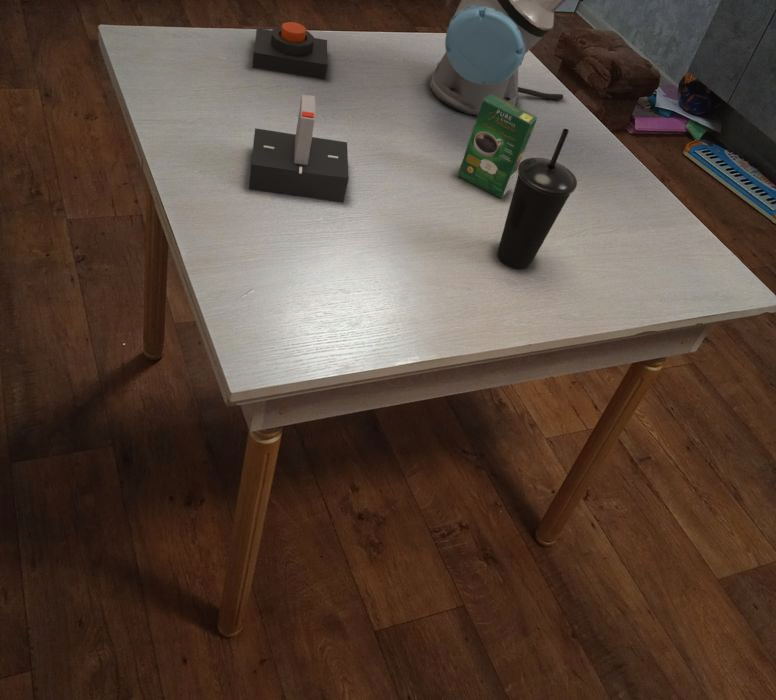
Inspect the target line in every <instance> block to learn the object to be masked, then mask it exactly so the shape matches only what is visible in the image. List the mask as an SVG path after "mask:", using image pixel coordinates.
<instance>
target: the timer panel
mask: <svg viewBox="0 0 776 700" xmlns="http://www.w3.org/2000/svg"><path fill="white" fill-rule="evenodd" d="M253 135H254V137H253V145H252V154H251V161H250V162H251V163H250V172H249V182H248V190H252V191H260V192H267V193H273V194H274V193H275V194H282V195H288V196H295V197H301V198H302V197H303V198H310V199H318V200H325V201H331V202H341V203H344V202H345V199H346V198H345V197H346V192H347V188H348V183H349V178H350V177H349V155H348V154H349V153H348V151H349V150H348V142H347V141H341V140H335V139H329V138H322V137H321V138H320V137H314V136H312V140H311V146H310V152H309V158H308V165H302V164H295V163H294V154H295V137H296V133H288V132H282V131H276V130H269V129H263V128H256V127H255V128H254V134H253Z"/></svg>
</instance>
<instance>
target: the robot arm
mask: <svg viewBox="0 0 776 700" xmlns="http://www.w3.org/2000/svg"><path fill="white" fill-rule="evenodd" d="M565 2H566V0H460V1H459V3H458V6H457V9H456V10H455V12H454V15H452V17H451V19H450V21H449V23H448V24H447V27H446V32H445V40H444V41H445V43H444V46H445V53H444V54H443V56H442V58H441V59H440V60H439V61H438V62H437V64H436V66H435V68H434V70H433V72H432V76H431V79H430V89H431V91H432V93H433V94H434V95H435V96H436V97H437V98H438V100H440V101H441V102H442V103H444V104H445V105H447V106H449V107H451V108H452V109H455V110H457V111H459V112H462V113H465V114H468V115H473V116H478V114H479V111H480V108H481V105H482V102H483V100H484V99H485V98H486V97H487V96H489V95H490V94H492V95H494V96H496V97H498V98H500V99H502V100H504V101H506V102H507V103H509V104H511V105H513V106H515V107H516V103H517V100H518V98H519V97H518V95H519V93H520V94H525V95H528V96H533V97H537V98H541V99H548V100H563V99H564V94H562V93H546V92H541V91H538V90H534V89H530V88H526V87H525V88H524V87H520V86H519V68H520V67H521V66H522V63H523V61H524V59H525V55H526V54H527V53H528V52H529V51H530V50H531V49H532V48H533V47H534V46H535V45H537V43H539V41H540V40H541V39H543V38H544V36H545V35H546V34H548V33H549V31H551V30H552V29H553V27H554V24H555V12H556V11H557V9H558V8H559V7H561V5H562V4H563V3H565Z"/></svg>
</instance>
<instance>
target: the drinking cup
mask: <svg viewBox="0 0 776 700" xmlns="http://www.w3.org/2000/svg"><path fill="white" fill-rule="evenodd" d="M569 133H570V130H569V128H568V129H567V128H563V130H562V132H561V135H560V136H559V139H558V142H557V144H556V147H555V149H554V152H553V154H552V157H551V159H548V158H546V157H545V158H544V157H537V156H535V157H527V158H525V159H523V160H522V161H520V163H519V165H518V168H517V178H516V181H515V185H514V189H513V193H512V197H511V201H510V204H509V208H508V211H507V215H506V219H505V223H504V226H503V230H502V234H501V238H500V241H499V245H498V248H497V252H496V256H497V258H498V260H499V261H500V262H501V263H502V264H503V265H505V266H506V267H508V268H510V269H514V270H526V269H528V268H530V267H531V265H532V263H533V261H534V259H535V257H536V256H537V254H538V252H539V250H540V249H541V247H542V245H543V243H544V242H545V240H546V238H547V236H548V235H549V232H550V231H551V229H552V227H553V226H554V224H555V222H556V220H557V218H558V217H559V215H560V213H561V212H562V209H563V208H564V206H565V204H566V202H567V200H568V199H569V197H570V195H571V194H572V193H573V192H575V190H576V188H577V187H578V180H577V177H576V175H575V174H574V173H573V172H572V171H571V169H569V168H568V167H566V166H565V165H563V164H561V163H560V162H558V158H559V156H560V154H561V151H562V149H563V146H564V145H565V142H566V139H567V136H568V134H569Z"/></svg>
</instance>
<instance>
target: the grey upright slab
mask: <svg viewBox="0 0 776 700" xmlns="http://www.w3.org/2000/svg"><path fill="white" fill-rule="evenodd" d="M315 121H316V96H314V95H308V94H301V96H300V102H299V110H298V116H297V123H296V131H295V134H296V137H295V154H294V163H295V164H302V165H308V158H309V152H310V146H311V140H312V137H313V133H314V126H315Z"/></svg>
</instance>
